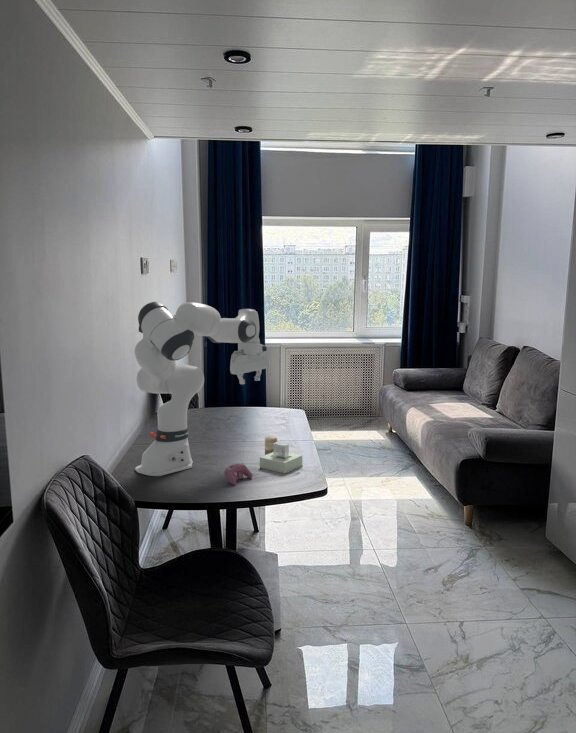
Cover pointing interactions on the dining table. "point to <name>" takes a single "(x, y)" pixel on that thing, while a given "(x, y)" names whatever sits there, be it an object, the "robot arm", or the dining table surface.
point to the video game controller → (240, 471)
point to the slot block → (281, 462)
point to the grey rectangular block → (281, 450)
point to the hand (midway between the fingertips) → (249, 382)
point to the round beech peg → (269, 444)
